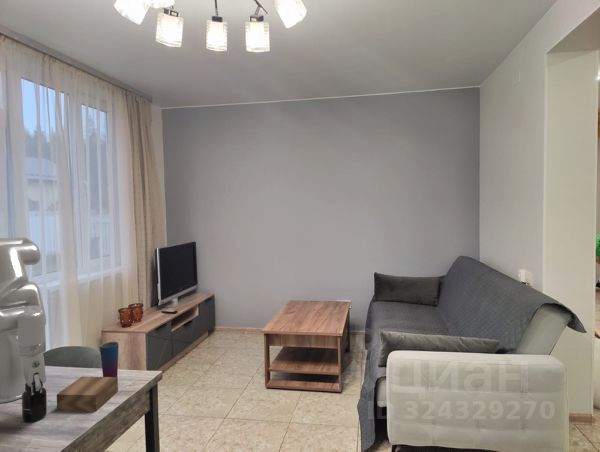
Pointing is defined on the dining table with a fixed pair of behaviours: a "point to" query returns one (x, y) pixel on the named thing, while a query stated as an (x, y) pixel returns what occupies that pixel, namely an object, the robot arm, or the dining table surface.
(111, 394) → the walnut block
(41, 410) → the supplement bottle
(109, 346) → the cup
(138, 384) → the dining table surface
